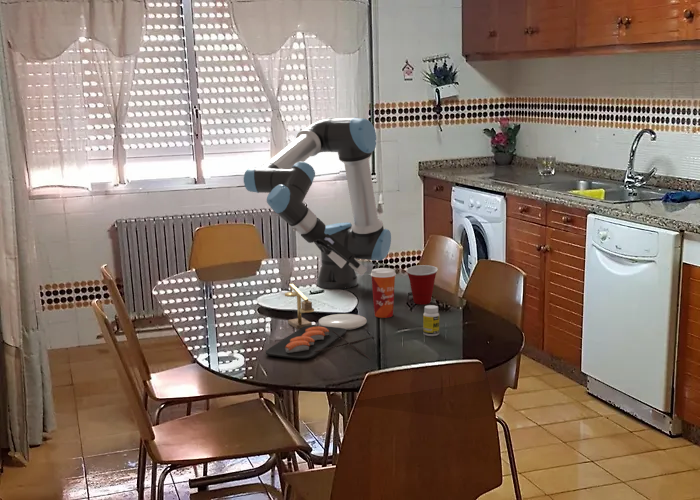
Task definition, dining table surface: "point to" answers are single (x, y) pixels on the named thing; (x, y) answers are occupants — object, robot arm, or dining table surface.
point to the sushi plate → (310, 342)
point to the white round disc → (343, 321)
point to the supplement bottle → (431, 321)
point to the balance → (305, 308)
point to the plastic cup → (422, 282)
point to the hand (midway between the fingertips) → (353, 268)
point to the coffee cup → (383, 291)
